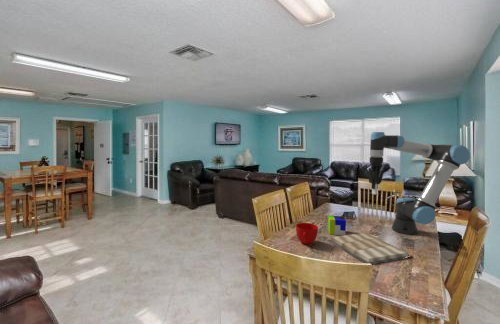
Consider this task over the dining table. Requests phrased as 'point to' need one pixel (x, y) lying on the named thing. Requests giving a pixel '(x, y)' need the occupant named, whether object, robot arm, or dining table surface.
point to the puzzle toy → (336, 225)
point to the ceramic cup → (306, 232)
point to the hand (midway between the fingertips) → (374, 194)
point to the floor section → (359, 245)
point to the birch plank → (380, 253)
